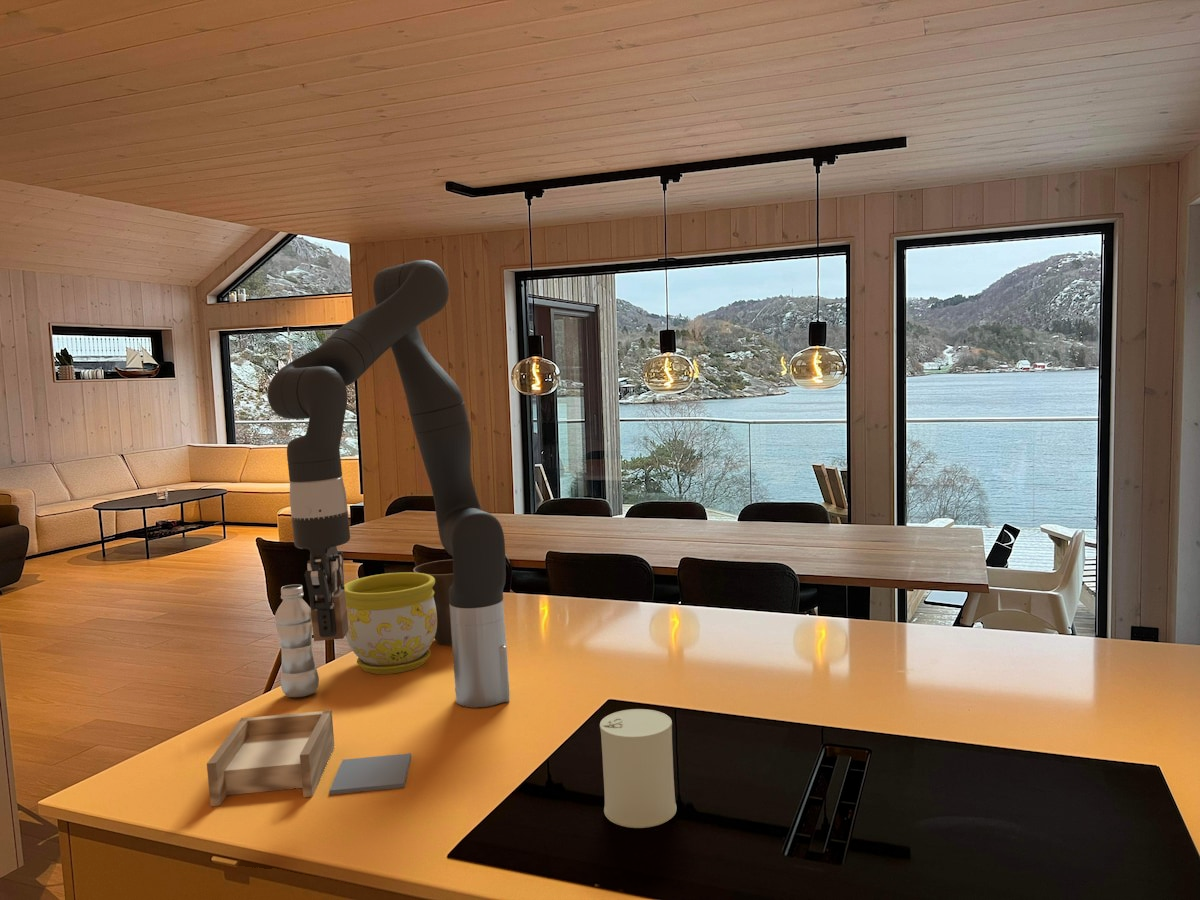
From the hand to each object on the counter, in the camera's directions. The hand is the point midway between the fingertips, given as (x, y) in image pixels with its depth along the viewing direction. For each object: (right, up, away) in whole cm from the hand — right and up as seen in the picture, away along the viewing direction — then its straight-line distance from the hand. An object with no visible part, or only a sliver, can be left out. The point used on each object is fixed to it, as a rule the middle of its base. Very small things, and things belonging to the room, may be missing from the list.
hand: (331, 630), depth 128 cm
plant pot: (+7, -15, +66) cm, 68 cm away
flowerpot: (-3, -17, +52) cm, 55 cm away
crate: (-9, -22, +3) cm, 24 cm away
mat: (+5, -21, +2) cm, 22 cm away
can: (+43, -20, -13) cm, 49 cm away
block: (0, -1, 0) cm, 1 cm away
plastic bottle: (-16, -19, +37) cm, 44 cm away
